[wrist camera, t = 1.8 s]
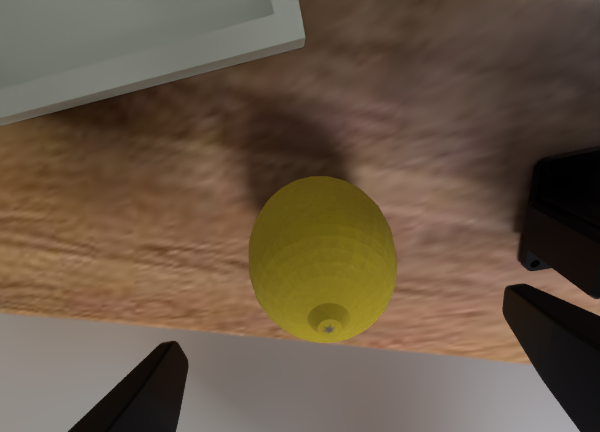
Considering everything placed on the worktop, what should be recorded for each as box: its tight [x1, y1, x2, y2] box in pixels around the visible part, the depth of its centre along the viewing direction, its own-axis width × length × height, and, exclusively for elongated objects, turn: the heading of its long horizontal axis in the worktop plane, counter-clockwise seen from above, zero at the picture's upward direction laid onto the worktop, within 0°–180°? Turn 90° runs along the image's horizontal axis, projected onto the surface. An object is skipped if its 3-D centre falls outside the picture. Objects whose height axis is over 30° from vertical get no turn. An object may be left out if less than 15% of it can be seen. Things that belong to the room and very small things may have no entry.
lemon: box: [249, 176, 397, 343], centre depth 11 cm, size 6×6×8 cm
